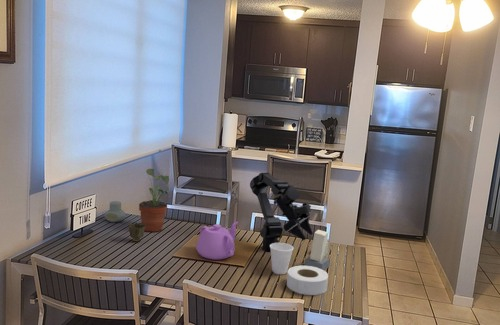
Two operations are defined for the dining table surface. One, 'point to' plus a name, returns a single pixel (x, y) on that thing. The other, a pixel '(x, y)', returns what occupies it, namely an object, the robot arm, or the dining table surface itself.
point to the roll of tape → (307, 280)
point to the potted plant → (154, 207)
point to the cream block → (319, 245)
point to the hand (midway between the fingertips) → (308, 236)
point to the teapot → (216, 242)
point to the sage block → (326, 249)
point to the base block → (318, 263)
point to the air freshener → (115, 212)
